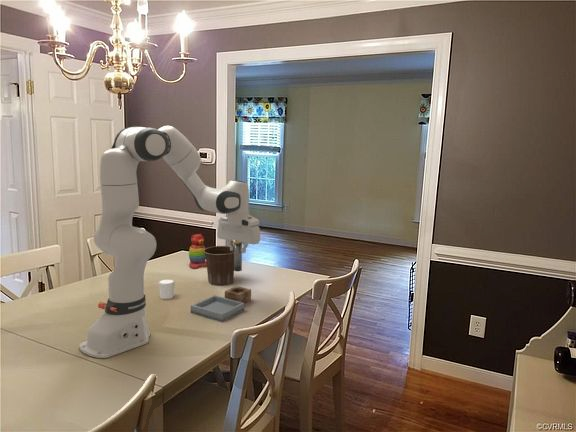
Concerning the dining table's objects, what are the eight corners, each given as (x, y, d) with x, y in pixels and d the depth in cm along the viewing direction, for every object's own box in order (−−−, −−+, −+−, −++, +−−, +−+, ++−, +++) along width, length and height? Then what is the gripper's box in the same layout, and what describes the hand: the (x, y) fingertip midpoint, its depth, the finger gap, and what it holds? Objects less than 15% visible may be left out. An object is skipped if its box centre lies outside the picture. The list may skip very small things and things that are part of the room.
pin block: (239, 306, 170) (239, 294, 169) (224, 302, 174) (224, 291, 173) (251, 300, 176) (251, 289, 175) (236, 296, 180) (236, 286, 180)
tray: (222, 322, 154) (222, 314, 153) (190, 312, 162) (190, 305, 161) (244, 310, 166) (244, 303, 165) (214, 301, 174) (214, 295, 173)
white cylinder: (170, 300, 174) (169, 284, 173) (155, 298, 176) (155, 283, 175) (177, 294, 181) (177, 279, 180) (163, 293, 182) (163, 278, 181)
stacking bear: (193, 269, 219) (192, 237, 216) (184, 265, 226) (184, 233, 223) (211, 266, 226) (210, 234, 223) (202, 262, 233) (201, 231, 230)
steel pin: (238, 272, 170) (239, 241, 167) (230, 270, 172) (230, 240, 170) (245, 269, 173) (245, 239, 171) (236, 268, 176) (237, 238, 174)
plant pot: (222, 289, 189) (222, 255, 186) (196, 283, 197) (196, 250, 195) (243, 280, 203) (244, 249, 200) (219, 274, 211) (219, 244, 208)
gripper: (213, 217, 172) (214, 249, 174) (253, 223, 161) (253, 256, 164) (223, 215, 177) (223, 246, 179) (262, 220, 167) (262, 253, 169)
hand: (238, 251), depth 171 cm, fingers closed on steel pin, 4 cm apart
